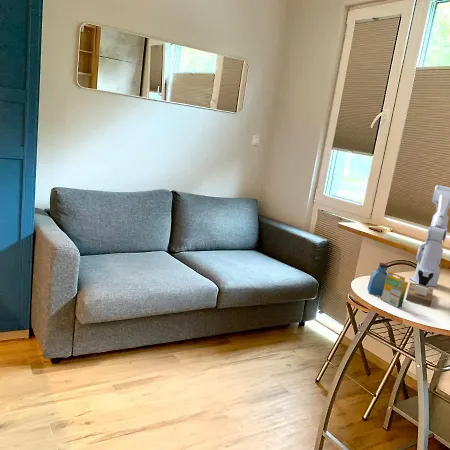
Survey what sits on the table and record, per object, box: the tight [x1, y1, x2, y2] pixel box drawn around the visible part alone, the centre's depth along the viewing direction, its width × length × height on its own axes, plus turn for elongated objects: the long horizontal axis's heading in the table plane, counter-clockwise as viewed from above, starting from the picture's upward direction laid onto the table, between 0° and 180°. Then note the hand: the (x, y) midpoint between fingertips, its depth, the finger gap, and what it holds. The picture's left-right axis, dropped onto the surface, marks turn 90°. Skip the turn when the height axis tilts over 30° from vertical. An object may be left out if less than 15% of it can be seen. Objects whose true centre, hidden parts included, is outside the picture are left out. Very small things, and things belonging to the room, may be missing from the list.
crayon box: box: [380, 270, 409, 309], centre depth 169 cm, size 7×3×12 cm, turn 36°
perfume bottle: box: [367, 262, 388, 297], centre depth 178 cm, size 6×6×12 cm
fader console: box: [405, 281, 434, 308], centre depth 183 cm, size 18×9×3 cm, turn 154°
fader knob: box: [414, 283, 429, 296], centre depth 179 cm, size 3×4×3 cm
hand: (421, 289), depth 181 cm, fingers closed
